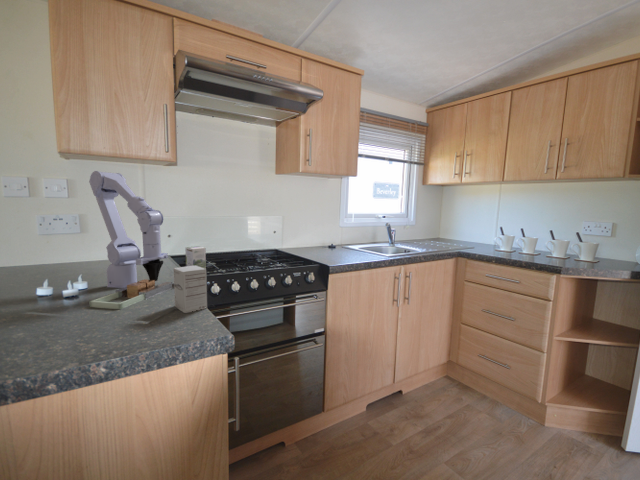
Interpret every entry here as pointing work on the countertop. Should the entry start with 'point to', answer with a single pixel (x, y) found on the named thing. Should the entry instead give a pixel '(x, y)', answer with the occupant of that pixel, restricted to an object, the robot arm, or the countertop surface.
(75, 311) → the countertop surface
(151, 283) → the rear copper block
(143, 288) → the front copper block
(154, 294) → the aluminium slot
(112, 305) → the tray
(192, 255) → the syrup box
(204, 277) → the supplement box
